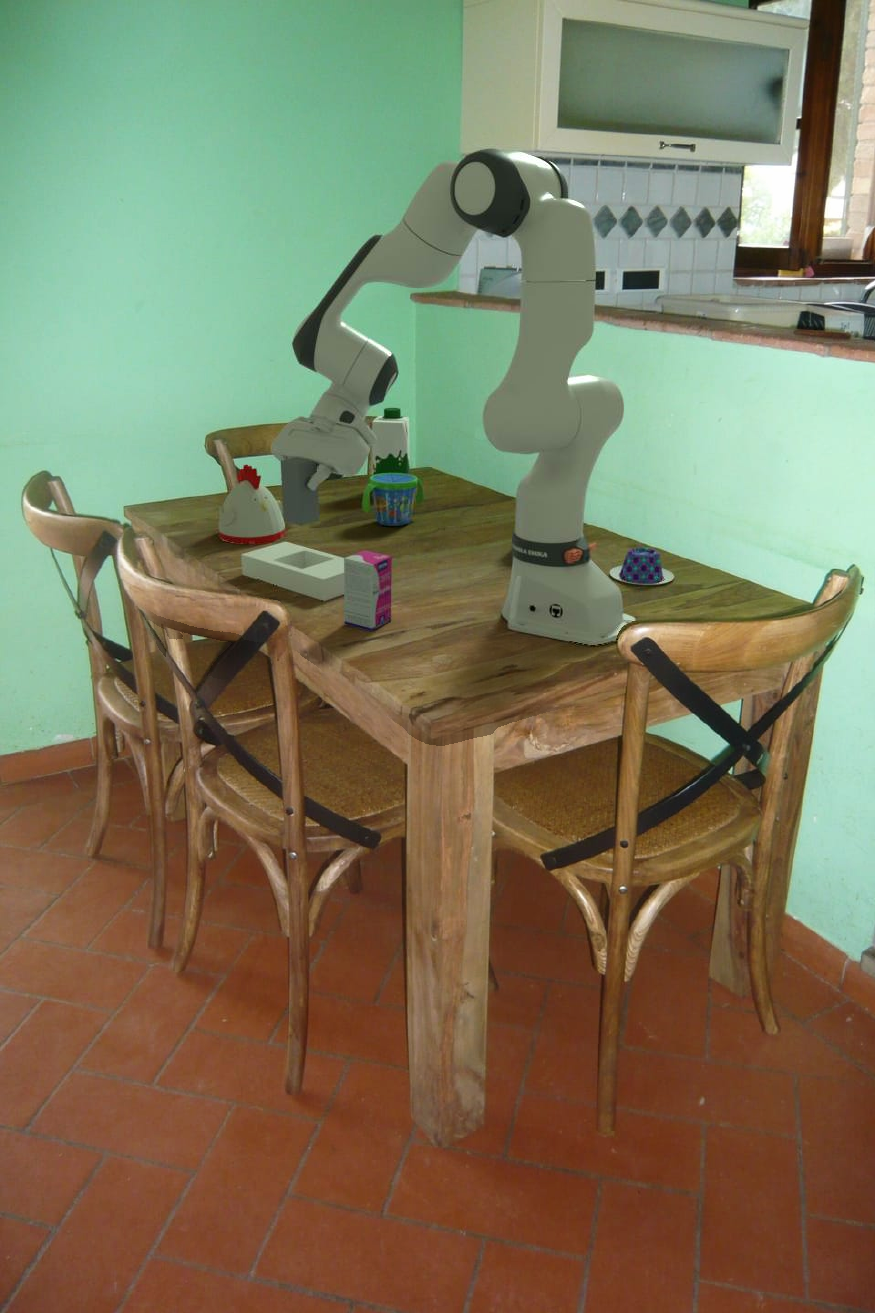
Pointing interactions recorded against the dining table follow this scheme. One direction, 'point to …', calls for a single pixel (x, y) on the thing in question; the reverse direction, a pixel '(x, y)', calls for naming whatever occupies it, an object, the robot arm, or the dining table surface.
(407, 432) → the milk carton
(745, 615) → the dining table surface
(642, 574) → the pudding
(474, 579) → the dining table surface
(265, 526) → the kitchen timer
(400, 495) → the snack cup
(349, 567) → the supplement box
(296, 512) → the charcoal peg
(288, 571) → the white socket block
